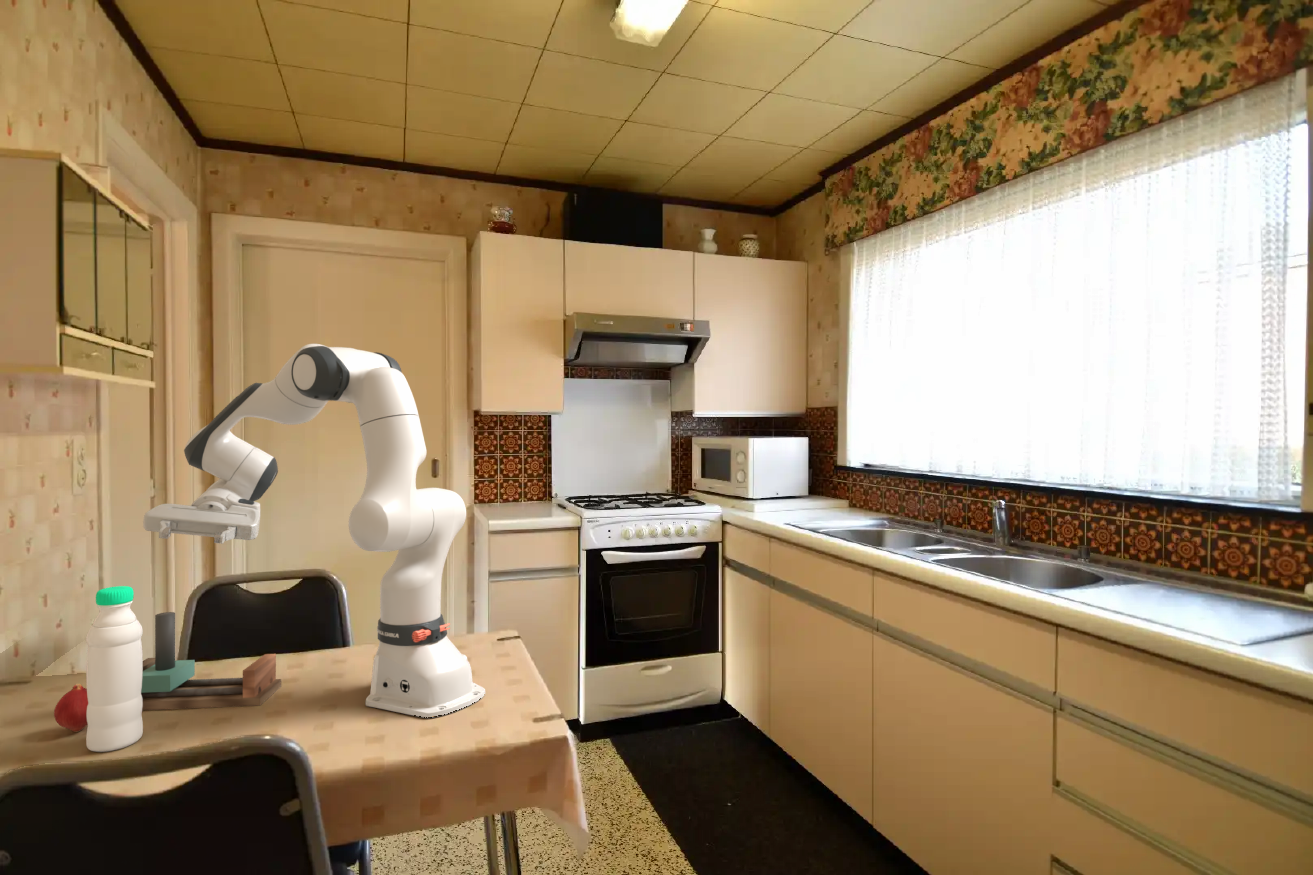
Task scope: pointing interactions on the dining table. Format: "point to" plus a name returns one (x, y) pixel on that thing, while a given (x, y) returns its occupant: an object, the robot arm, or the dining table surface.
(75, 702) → the onion
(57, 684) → the dining table surface
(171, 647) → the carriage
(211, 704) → the rail
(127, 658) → the white bottle
